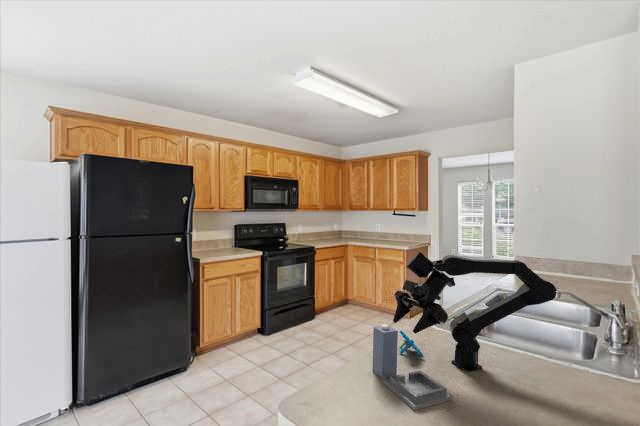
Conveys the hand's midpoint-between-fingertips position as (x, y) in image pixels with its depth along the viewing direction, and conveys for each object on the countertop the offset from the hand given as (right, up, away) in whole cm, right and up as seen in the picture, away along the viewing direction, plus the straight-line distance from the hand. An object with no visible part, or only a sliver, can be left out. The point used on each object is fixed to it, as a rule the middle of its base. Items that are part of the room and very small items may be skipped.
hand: (403, 327), depth 96 cm
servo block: (-6, -12, -3) cm, 14 cm away
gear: (+5, -13, +11) cm, 17 cm away
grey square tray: (0, -13, -13) cm, 18 cm away
